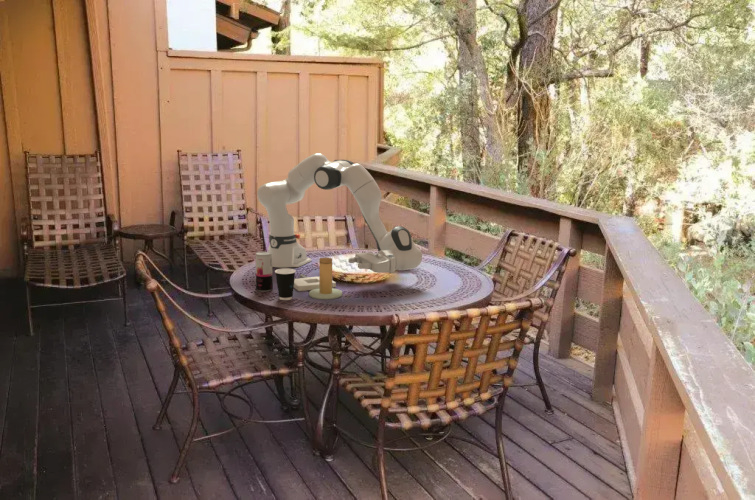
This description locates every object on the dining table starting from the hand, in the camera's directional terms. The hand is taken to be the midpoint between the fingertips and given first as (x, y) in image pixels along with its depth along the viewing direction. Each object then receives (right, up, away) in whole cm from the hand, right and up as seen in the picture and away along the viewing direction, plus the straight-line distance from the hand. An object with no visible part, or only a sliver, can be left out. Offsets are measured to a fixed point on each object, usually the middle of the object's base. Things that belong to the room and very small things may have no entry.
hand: (353, 263), depth 266 cm
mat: (-11, -12, -3) cm, 17 cm away
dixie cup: (-26, -13, -9) cm, 30 cm away
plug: (-11, -11, -3) cm, 16 cm away
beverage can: (-36, -11, +3) cm, 38 cm away
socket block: (-19, -9, +14) cm, 25 cm away
